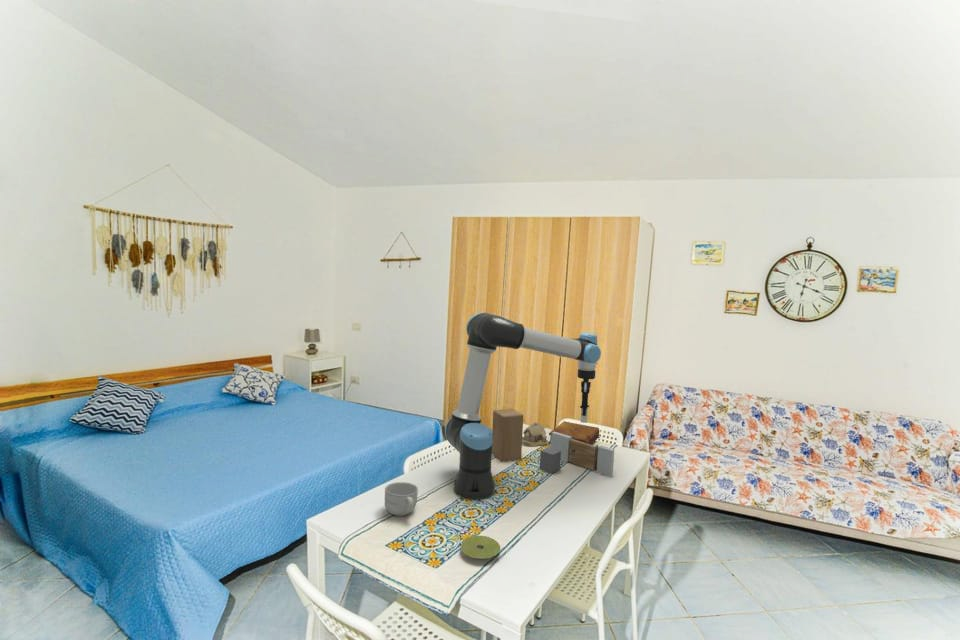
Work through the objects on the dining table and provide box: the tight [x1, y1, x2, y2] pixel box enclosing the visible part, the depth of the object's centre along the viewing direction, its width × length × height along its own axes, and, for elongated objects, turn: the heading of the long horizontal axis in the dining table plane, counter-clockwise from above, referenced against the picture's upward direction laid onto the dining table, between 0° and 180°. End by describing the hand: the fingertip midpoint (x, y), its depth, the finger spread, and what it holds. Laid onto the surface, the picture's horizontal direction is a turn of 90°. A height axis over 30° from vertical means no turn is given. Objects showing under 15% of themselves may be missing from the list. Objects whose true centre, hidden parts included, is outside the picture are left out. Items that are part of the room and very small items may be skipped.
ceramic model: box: [522, 421, 549, 447], centre depth 222 cm, size 14×11×10 cm
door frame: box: [550, 431, 615, 478], centre depth 195 cm, size 2×29×11 cm, turn 47°
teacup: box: [384, 481, 419, 517], centre depth 150 cm, size 14×11×8 cm
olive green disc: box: [460, 535, 501, 559], centre depth 130 cm, size 11×11×2 cm
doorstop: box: [539, 446, 561, 474], centre depth 190 cm, size 6×6×8 cm
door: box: [568, 439, 599, 472], centre depth 194 cm, size 2×13×11 cm, turn 47°
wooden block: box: [491, 408, 524, 463], centre depth 202 cm, size 10×10×20 cm
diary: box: [548, 420, 600, 445], centre depth 227 cm, size 23×19×6 cm
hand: (583, 422), depth 201 cm, fingers closed
